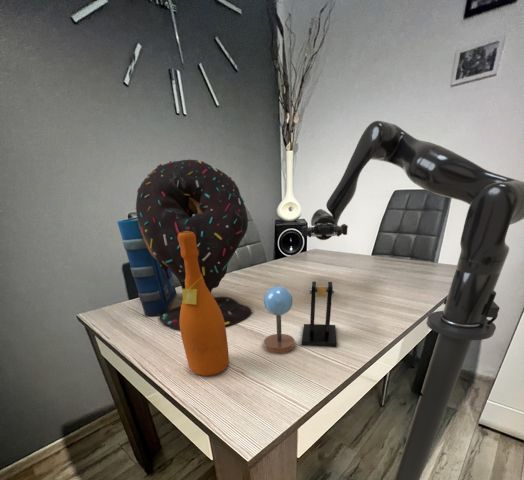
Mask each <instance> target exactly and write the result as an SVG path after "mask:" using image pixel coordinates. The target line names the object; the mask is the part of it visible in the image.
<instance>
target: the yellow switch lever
mask: <svg viewBox="0 0 524 480" xmlns="http://www.w3.org/2000/svg"><path fill="white" fill-rule="evenodd" d="M327 291H328V286H327V285H317V286H316V297H327Z"/></svg>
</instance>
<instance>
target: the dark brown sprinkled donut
mask: <svg viewBox="0 0 524 480" xmlns="http://www.w3.org/2000/svg"><path fill="white" fill-rule="evenodd" d="M136 193H137V195H136V201H135V202H136V203H135V211H136V217H137V218H138V224H139V228H140V231H141V233H142V236H143V239H144V241H145V243H146V246H147V248H148V250H149V252H150V253H151V255H152V256H153V257H154V258H155V259H156V260H157V261H158V262H159V264H160V266H161V267H162V269H163V270H164V271H165V272H166V278H167V279H169V275H168V271H167V269H168V268H170V269H171V272H172V275H174V276H175V277H176V279H177V280H178V283H179V284H180V285H181V289H182V291H183V289H185V279H186V271H185V263H184V259H183V258H182V256H181V249H180V244H179V241H178V234H179V233H181V232H184V231H191V232H193V233H194V234H195V236H196V245H197V250H198V253H199V255H198V257H197V259H198V264H199V268H200V272H201V274H202V276H203V279H204V282H205V285H206V286H207V288H208V290H209V291H210V293H211V294H212V290H213V289H216V288H218V287H219V286H220V283H221V281H222V279H224V278H225V276H226V275H227V272H228V266H229V263H230V260H231V259H232V257H233V256H234V254H235V253H236V251H237V249H238V248H239V246H240V244H241V242H242V241H243V239H244V237H245V235H246V233H247V231H248V226H249V217H248V212H247V208H246V206H245V200H244V199H243V197H242V194H241V192H240V189H239V187H238V184H236V181H235V180H233V179H232V177H231V176H229V175H227V174H226V173H225V172H224V171H222V170H220V169H219V168H216V167H215V166H214V165H211V164H209V163H207V162H204V160H197V159H190V158H188V159H181V160H173V161H172V160H170V161H169V162H167V163H164V164H162V163H160V164H158V165H156V168H154V169H153V170H152V171H151V172H150V173H147V175H146V176H145V178H143V181H141V182H140V186H139V187H138V188H137V191H136ZM213 298H214V299H215V301H216V302H217V304H218V306H219V308H220V310H221V312H222V315H223V318H224V322H225V328H226V327H230V326H232V325H234V324H237V323H240V322H242V321H245V319H248V318H249V317H250V316H251V315H252V309H251V308H250V307H249V306H248V305H244V304H242V303H239V302H238V301H236V300H235V299H233V298H231V297H228V296H217V297H213ZM180 310H181V305H180V306H177V307H174V308H171V309H168V310H167V311H166V312H165V313H163V314H162V315H159V322H161V324H163V326H166V327H168V328H170V329H172V330H176V331H180V323H179V320H180Z"/></svg>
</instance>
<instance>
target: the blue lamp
mask: <svg viewBox="0 0 524 480" xmlns="http://www.w3.org/2000/svg"><path fill="white" fill-rule="evenodd" d="M293 302H294V299H293V295H292V293H291V292H290V290H289V289H287V288H286V287H284V286H281V285H277V286H272V287H271V288H269V289H268V290H267V291H266V292H265V294H264V297H263V305H264V308H265V310H266V311H267V312H268V313H269V314H271V315H273V316H275V318H276V320H275V321H276V324H275V325H276V333H273V334H270V335H268V336H267V337H265V338H264V340H263V347H264V349H265V350H266V351H267V352H269V353H272V354H277V355H278V354H286V353H289V352H292V351H293V350H294V348H295V344H296V343H295V338H294V337H293V336H292V335H289V334H286V333H282V316H283V315H285V314H287V313H289V311H290V310H291V309H292V307H293V304H294V303H293Z"/></svg>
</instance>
